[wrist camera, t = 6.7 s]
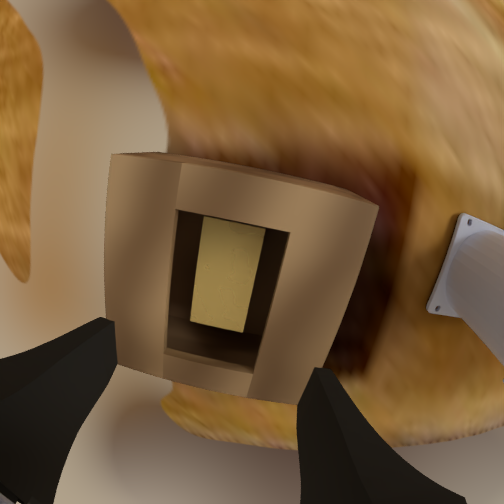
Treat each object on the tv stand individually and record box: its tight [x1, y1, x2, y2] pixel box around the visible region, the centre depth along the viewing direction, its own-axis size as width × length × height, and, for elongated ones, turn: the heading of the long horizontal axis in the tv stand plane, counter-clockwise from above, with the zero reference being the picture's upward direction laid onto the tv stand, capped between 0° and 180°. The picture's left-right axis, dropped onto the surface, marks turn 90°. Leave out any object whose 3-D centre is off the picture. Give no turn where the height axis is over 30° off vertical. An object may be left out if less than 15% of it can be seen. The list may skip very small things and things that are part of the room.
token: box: [190, 215, 266, 332], centre depth 17 cm, size 3×6×4 cm, turn 169°
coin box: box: [104, 152, 379, 405], centre depth 16 cm, size 12×12×6 cm
